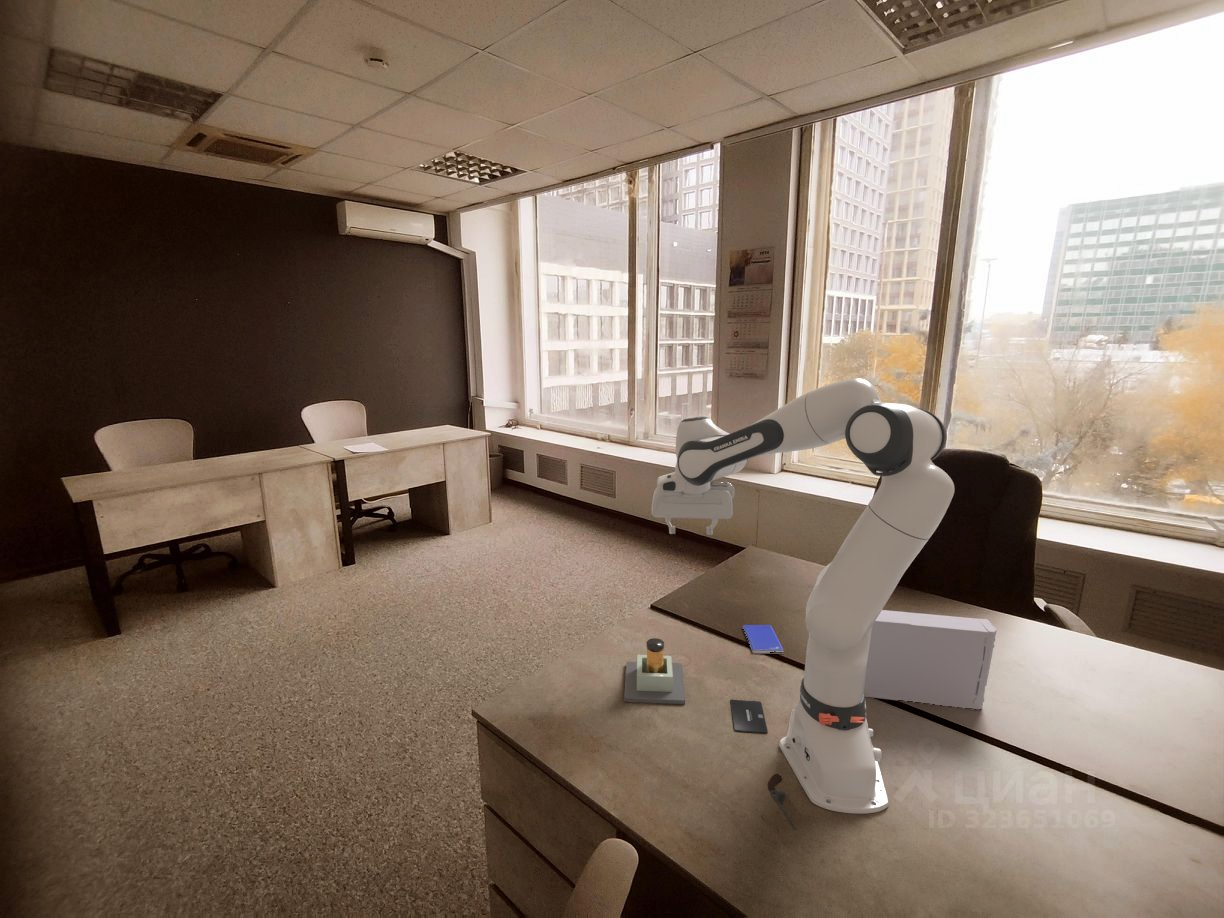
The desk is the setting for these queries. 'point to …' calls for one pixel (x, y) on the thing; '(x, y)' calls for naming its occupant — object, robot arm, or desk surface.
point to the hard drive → (762, 638)
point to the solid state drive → (748, 716)
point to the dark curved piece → (778, 793)
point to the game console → (929, 658)
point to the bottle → (655, 655)
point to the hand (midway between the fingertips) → (690, 533)
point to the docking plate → (654, 682)
